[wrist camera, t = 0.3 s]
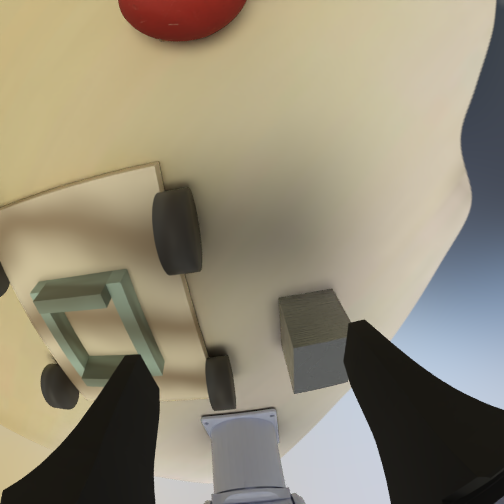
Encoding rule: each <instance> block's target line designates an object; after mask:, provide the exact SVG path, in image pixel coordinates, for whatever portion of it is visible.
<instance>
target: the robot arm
mask: <svg viewBox="0 0 504 504" xmlns="http://www.w3.org/2000/svg"><path fill="white" fill-rule="evenodd" d="M343 362H344V366H345V369H346V372H347V375H348V378H349V382H350V385H351V387H352V389H353V392H354V394H355V396H356V398H357V400H358V403H359V405H360V407H361V409H362V411H363V413H364V415H365V418H366V420H367V422H368V424H369V427H370V429H371V431H372V433H373V436H374V439H375V441H376V444H377V448H378V451H379V454H380V458H381V461H382V465H383V469H384V473H385V477H386V481H387V486H388V490H389V496H390V501H391V504H504V410H502V409H499V408H497V407H494V406H491V405H488V404H486V403H484V402H481V401H479V400H477V399H475V398H473V397H471V396H469V395H466V394H464V393H462V392H461V391H459V390H457V389H455V388H453V387H451V386H450V385H448V384H447V383H445V382H443V381H442V380H440V379H438V378H437V377H436V376H434V375H432V374H431V373H430V372H428V371H427V370H426V369H424V368H423V367H421V366H420V365H419V364H417V363H416V362H415V361H413V360H412V359H411V358H410V357H408V356H407V355H406V354H405V353H403V352H402V351H401V350H400V349H399V348H397V347H396V346H395V345H394V344H393V343H391V342H390V341H389V340H388V339H387V338H386V337H384V336H383V335H382V334H381V333H380V332H379V331H377V330H376V329H375V328H374V327H373V326H372V325H371V324H369V323H368V322H367V321H366V320H360V321H356V322H352V323H348V331H347V339H346V346H345V353H344V359H343ZM159 414H160V389H159V387H158V385H157V383H156V382H155V380H154V378H153V376H152V375H151V373H150V371H149V369H148V367H147V366H146V364H145V362H144V360H143V358H142V356H141V354H137V355H125V356H124V358H123V359H122V361H121V362H120V363H119V365H118V366H117V368H116V369H115V371H114V372H113V374H112V376H111V377H110V379H109V380H108V382H107V383H106V385H105V386H104V388H103V389H102V391H101V392H100V394H99V395H98V397H97V398H96V400H95V401H94V403H93V404H92V405H91V407H90V408H89V410H88V411H87V412H86V414H85V415H84V416H83V418H82V419H81V421H80V422H79V423H78V425H77V426H76V427H75V428H74V430H73V431H72V432H71V433H70V434H69V435H68V437H67V438H66V439H65V440H64V441H63V442H62V443H61V445H60V446H59V447H58V448H57V449H56V450H55V451H54V452H53V453H51V455H49V457H47V459H45V460H44V461H43V462H42V463H41V464H40V465H39V466H37V467H36V468H35V469H34V470H33V471H31V472H30V473H29V474H27V475H26V476H25V477H24V478H22V479H21V480H19V481H18V482H16V483H14V484H13V485H11V486H10V487H8V488H7V489H5V490H3V492H2V497H1V503H0V504H155V493H154V459H155V449H156V440H157V432H158V423H159ZM201 422H202V424H203V426H204V428H205V429H206V431H207V433H208V435H209V437H210V438H211V442H212V465H213V483H214V494H212V501H208V500H207V501H205V503H204V504H305V502H304V500H303V498H302V497H300V496H298V495H297V494H296V493H293V494H290V490H289V488H286V487H285V482H284V476H283V471H282V466H281V460H280V455H279V450H278V443H279V434H278V423H277V413H276V410H275V409H266V410H260V411H253V412H245V413H237V414H228V415H217V416H205V417H202V418H201Z"/></svg>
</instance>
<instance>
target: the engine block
mask: <svg viewBox="0 0 504 504" xmlns="http://www.w3.org/2000/svg"><path fill="white" fill-rule="evenodd" d="M279 311H280V326H281V343H282V349H283V353H284V357H285V361H286V365H287V369H288V372H289V376H290V380H291V384H292V388H293V392H294V394H297V393H302V392H307V391H311V390H316V389H321V388H325V387H329V386H333V385H337V384H341V383H345V382H348V379H349V378H348V375H347V372H346V369H345V366H344V362H343V359H344V353H345V346H346V339H347V331H348V323H351V322H350V320H349V318H348V316H347V314H346V312H345V311H344V309H343V307H342V305H341V303H340V301H339V300H338V298H337V296H336V294H335V292H334V291H333V289H327V290H322V291H316V292H310V293H305V294H299V295H293V296H287V297H281V298H279Z"/></svg>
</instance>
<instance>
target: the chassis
mask: <svg viewBox="0 0 504 504" xmlns="http://www.w3.org/2000/svg"><path fill="white" fill-rule="evenodd" d="M201 269H202V247H201V237H200V230H199V223H198V217H197V212H196V207H195V203H194V199H193V196H192V193H191V191H190V189H189V188H188V187H186V188H181V189H175V190H170V191H165V190H164V185H163V180H162V175H161V170H160V165H159V162H154V163H149V164H145V165H140V166H136V167H131V168H127V169H123V170H119V171H115V172H111V173H107V174H103V175H99V176H95V177H92V178H88V179H85V180H81V181H78V182H74V183H71V184H67V185H64V186H61V187H58V188H55V189H51V190H48V191H45V192H42V193H39V194H36V195H33V196H31V197H28V198H25V199H22V200H19V201H17V202H14V203H11V204H9V205H6V206H4V207H1V208H0V297H1V296H2V295H3V294H4V293H5V292H6V291H7V289H8V287H9V284H11V286H12V288H13V290H14V292H15V294H16V296H17V297H18V299H19V301H20V303H21V305H22V307H23V309H24V310H25V312H26V314H27V316H28V317H29V319H30V321H31V323H32V324H33V326H34V328H35V329H36V331H37V332H38V334H39V336H40V337H41V339H42V340H43V342H44V344H45V345H46V347H47V348H48V350H49V351H50V353H51V354H52V355H53V357H54V358H55V360H56V361H57V363H58V364H48V365H47V366H46V367H45V368H44V370H43V372H42V375H41V390H42V394H43V396H44V398H45V400H46V402H47V403H48V404H49V405H50V406H52V407H54V408H60V409H72V408H74V407H75V405H76V404H77V402H78V398H79V392H80V393H81V394H82V395H83V397H84V398H85V399H86V400H94V401H95V400H96V398H97V397H98V395H99V394H100V392H101V391H102V389H103V388H104V386H105V385H106V383H107V382H108V380H109V379H110V377H111V376H112V374H113V372H114V371H115V369H116V368H117V366H118V365H119V363H120V362H121V361H122V359H123V358H124V356H125V355H137V354H141V356H142V358H143V360H144V362H145V364H146V366H147V367H148V369H149V371H150V373H151V375H152V376H153V378H154V380H155V382H156V383H157V385H158V387H159V389H160V401H180V400H196V399H208V398H209V400H210V403H211V406H212V408H213V410H214V411H219V410H229V409H236V396H235V387H234V380H233V374H232V369H231V364H230V360H229V357H228V355H227V356H219V357H210V358H209V356H208V353H207V350H206V347H205V344H204V340H203V337H202V334H201V331H200V327H199V324H198V321H197V317H196V314H195V310H194V307H193V303H192V300H191V296H190V293H189V289H188V285H187V282H186V278H185V273H192V272H199V271H201Z"/></svg>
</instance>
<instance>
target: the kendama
mask: <svg viewBox="0 0 504 504" xmlns="http://www.w3.org/2000/svg"><path fill="white" fill-rule="evenodd" d="M118 2H119V7H120V10H121V12H122V14H123V16H124V17H125V19H126V20H127V21H128V22H129V23H130V24H131V25H132V26H133V27H134V28H135V29H137V30H138V31H140V32H142V33H144V34H146V35H148V36H150V37H153V38H156V39H159V41H190V40H195V39H200V38H204V37H207V36H209V35H211V34H213V33H215V32H217V31H219V30H220V29H222V28H223V27H225V26H226V25H227V24H229V23H230V22H231V21H232V20H233V19H234V18H235V17H236V16H237V15H238V13H239V12H240V11H241V9H242V8H243V6H244V4H245V2H246V0H118Z"/></svg>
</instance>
